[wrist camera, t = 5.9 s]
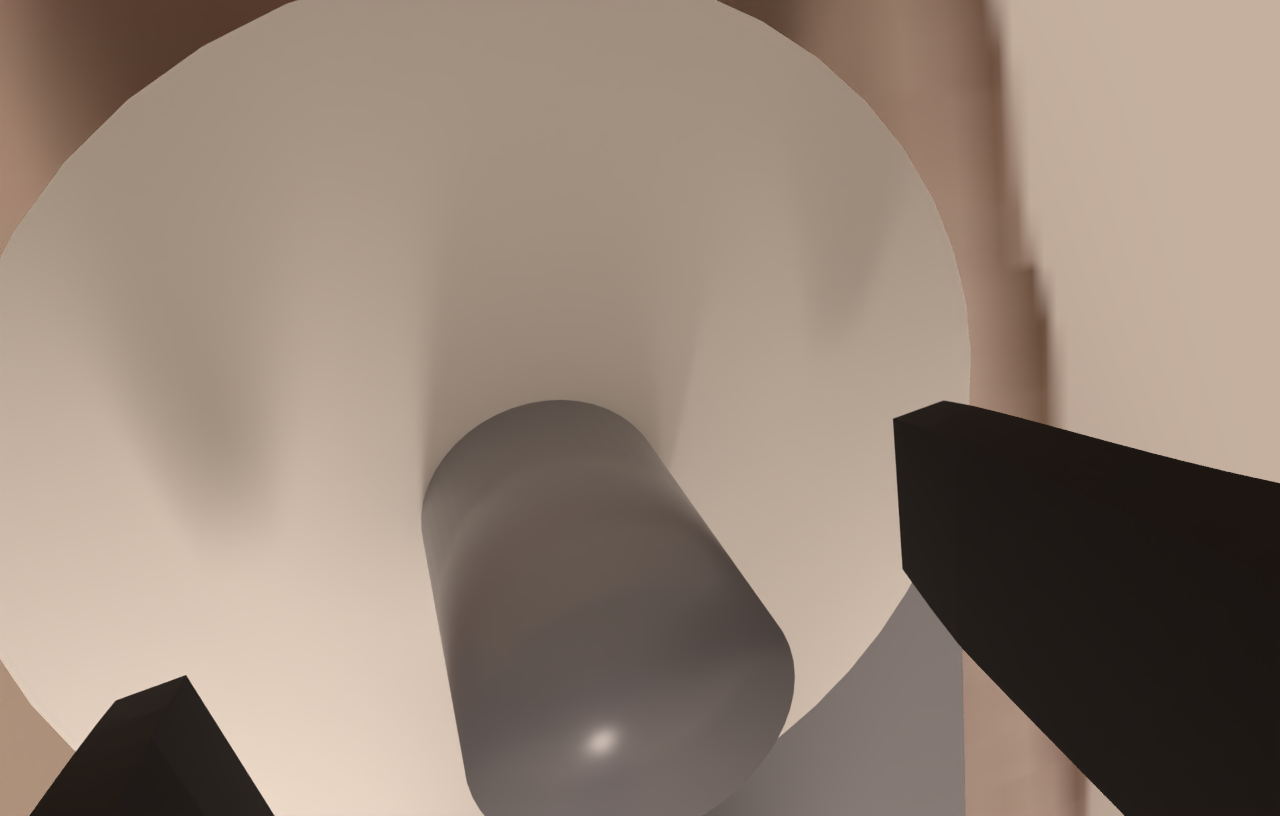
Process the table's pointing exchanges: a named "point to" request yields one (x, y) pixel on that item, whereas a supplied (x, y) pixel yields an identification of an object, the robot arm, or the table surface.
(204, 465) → the lid
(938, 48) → the table surface
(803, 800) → the mat
